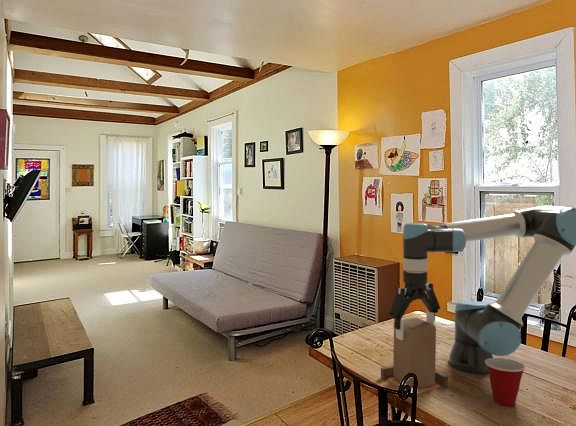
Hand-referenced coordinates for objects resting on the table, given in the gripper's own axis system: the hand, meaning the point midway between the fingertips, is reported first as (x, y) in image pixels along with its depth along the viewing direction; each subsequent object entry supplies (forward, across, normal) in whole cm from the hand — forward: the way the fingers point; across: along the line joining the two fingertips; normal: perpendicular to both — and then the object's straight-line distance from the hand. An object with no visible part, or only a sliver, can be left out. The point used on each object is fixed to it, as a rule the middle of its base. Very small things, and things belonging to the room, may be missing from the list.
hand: (415, 334), depth 135 cm
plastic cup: (+17, -15, +21) cm, 31 cm away
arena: (+16, 0, 0) cm, 16 cm away
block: (+16, 0, 0) cm, 16 cm away
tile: (+16, 0, 0) cm, 16 cm away
